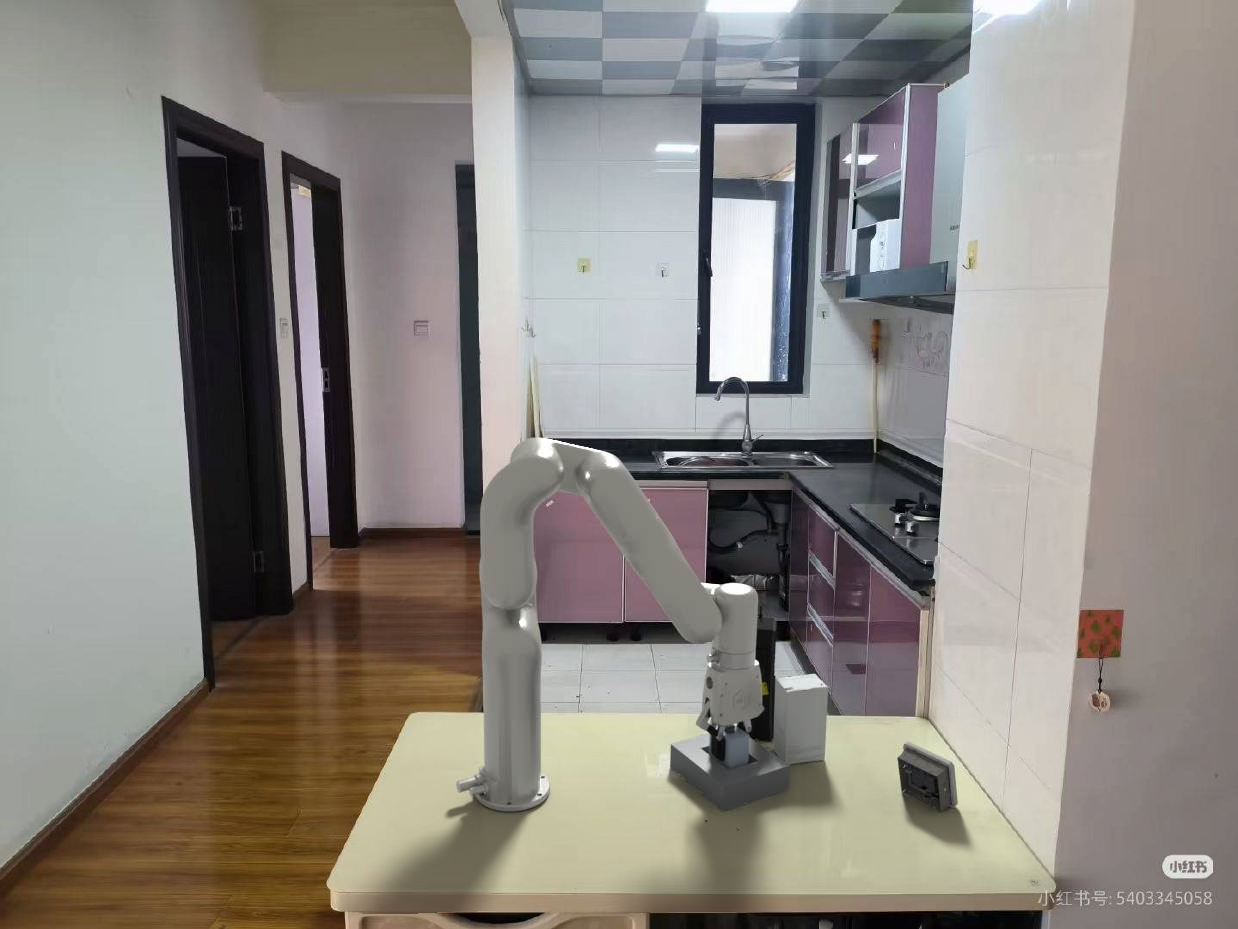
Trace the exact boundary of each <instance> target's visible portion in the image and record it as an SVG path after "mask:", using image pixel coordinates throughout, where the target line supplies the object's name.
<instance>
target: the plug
mask: <svg viewBox="0 0 1238 929" xmlns="http://www.w3.org/2000/svg"><path fill="white" fill-rule="evenodd" d="M717 728H718V726H717V727H716V729H717ZM749 736H750V735H749V734H747V733H746V732H744V731H743V730H741V729H740V728H738V727H737V725H735V724H732V725H728V726H725V730H724V735H723V739H725V741H726V745H725V759H724V761H720V760H719V759H717V758H716V757H715V756H713V755H712V753H711V735H710V742H709V755H710V756H711V757H713V758H714V759H715V760H717V761H718V762H719V763H721V764H722V765H723V766H724V767H726V768H727V769H728V770H731V769H734V768H737V767H740V766H744V765H747V764H748V757H749Z"/></svg>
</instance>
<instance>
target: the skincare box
mask: <svg viewBox="0 0 1238 929" xmlns="http://www.w3.org/2000/svg"><path fill="white" fill-rule="evenodd" d="M828 697H829V687H828V685H827V684H825V683H824V681H823V680H821V678H820V677H819V676H818V675H817V674H816V673H810V674H804V675H796V676H795V675H794V676H788V677H787V676H785V677H778V678H776V677H775V708H774V739H772V741H773V743H772V744H773V746H772V747H773V748H772V749H773V751H774V752H775V753H776V754H775V755H776V756H778V757H779V758H780V759H782V760H783V761H785V762H786V763H788V764H789V765H793V764H794V765H795V764H802V763H808V762H816V761H823V760H825V759H826V757H825V756H826V739H827V738H826V737H827V720H828V719H827V717H828V700H829V698H828Z"/></svg>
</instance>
